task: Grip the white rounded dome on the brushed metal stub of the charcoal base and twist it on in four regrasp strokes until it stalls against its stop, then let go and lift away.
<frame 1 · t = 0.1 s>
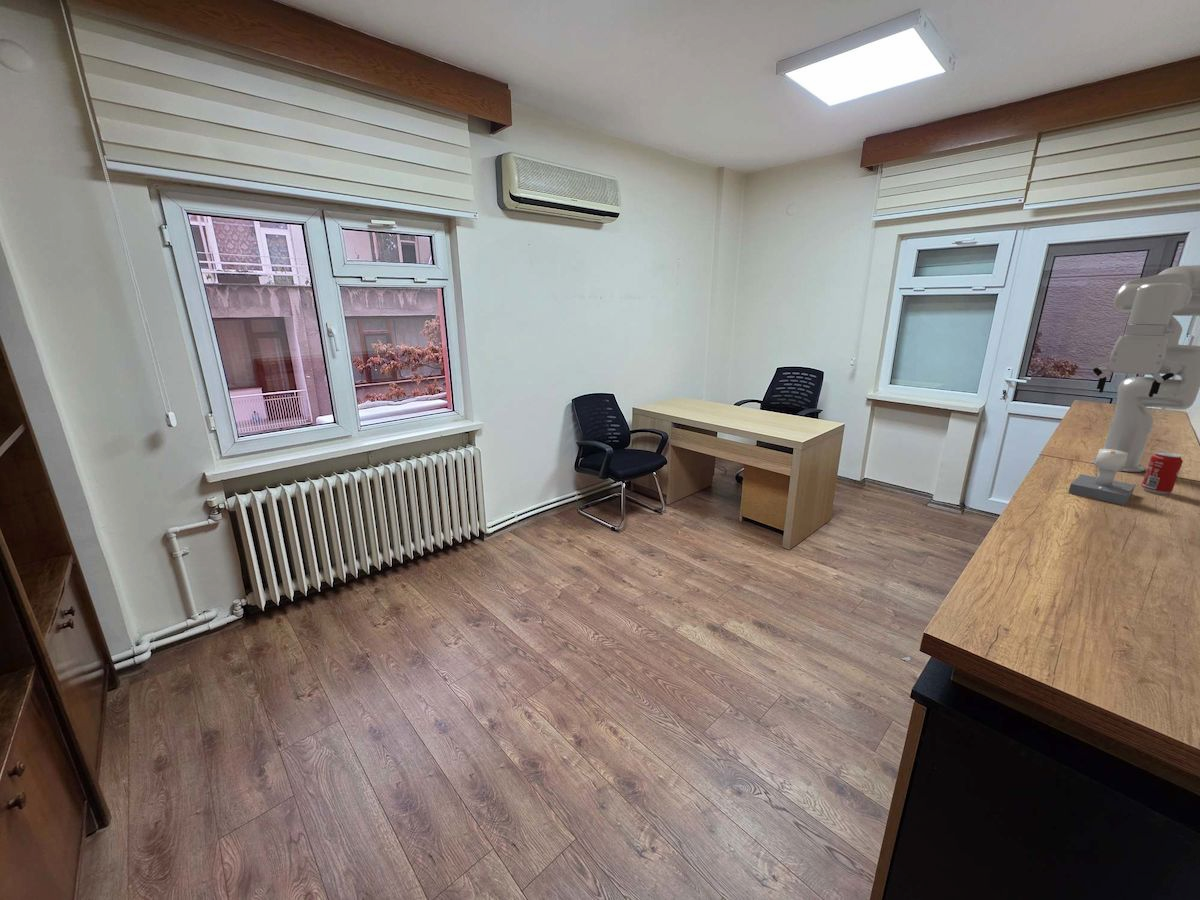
hand: (1124, 394, 135), 31 cm above the table, tool pointing down, fingers open, 9 cm apart
white rounded dome: (1111, 459, 143), point 11 cm above the table, hinge at 0.0°
stub base: (1100, 493, 146), on the table
beverage can: (1155, 491, 148), on the table
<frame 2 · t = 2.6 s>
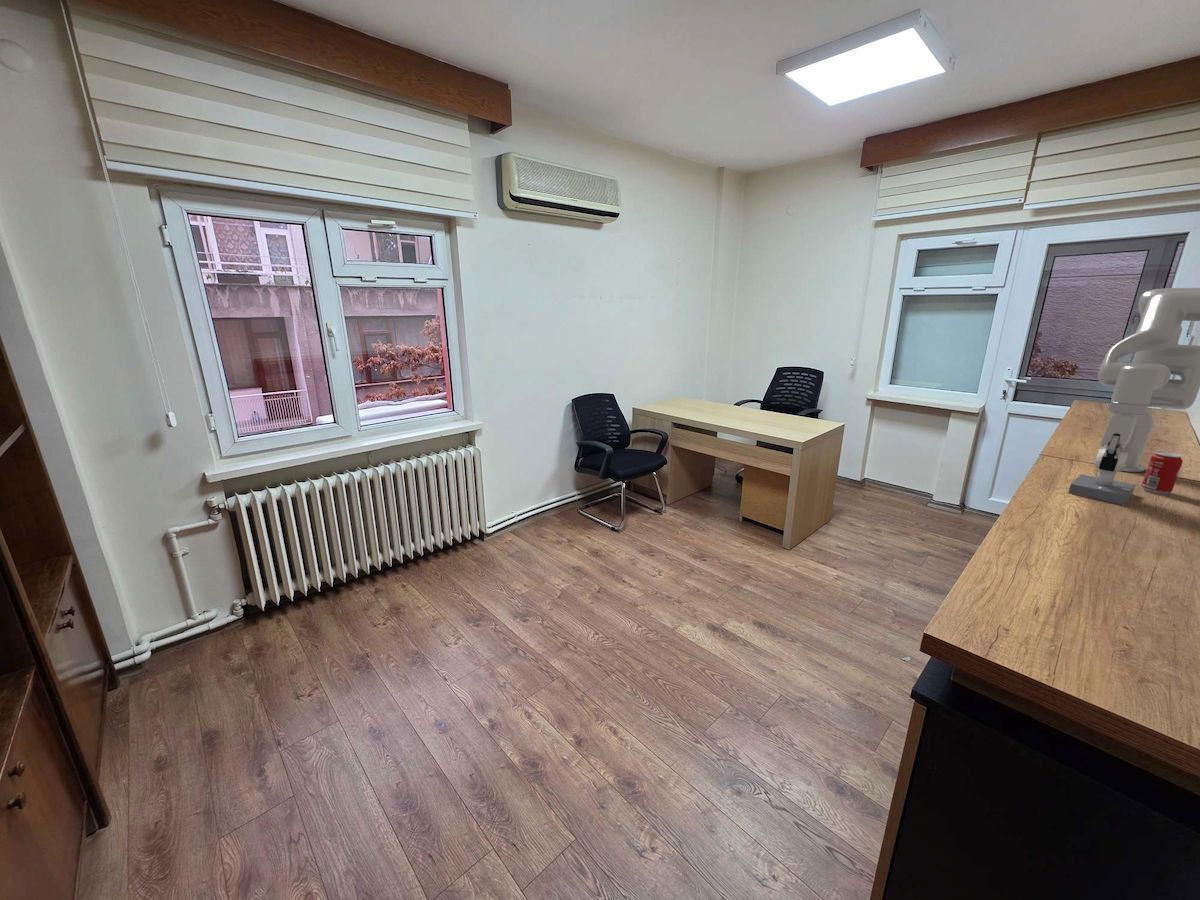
hand: (1108, 467, 144), 8 cm above the table, tool pointing down, fingers closed on white rounded dome, 6 cm apart
white rounded dome: (1111, 459, 143), point 11 cm above the table, hinge at 0.0°, touching gripper
everything else where it was.
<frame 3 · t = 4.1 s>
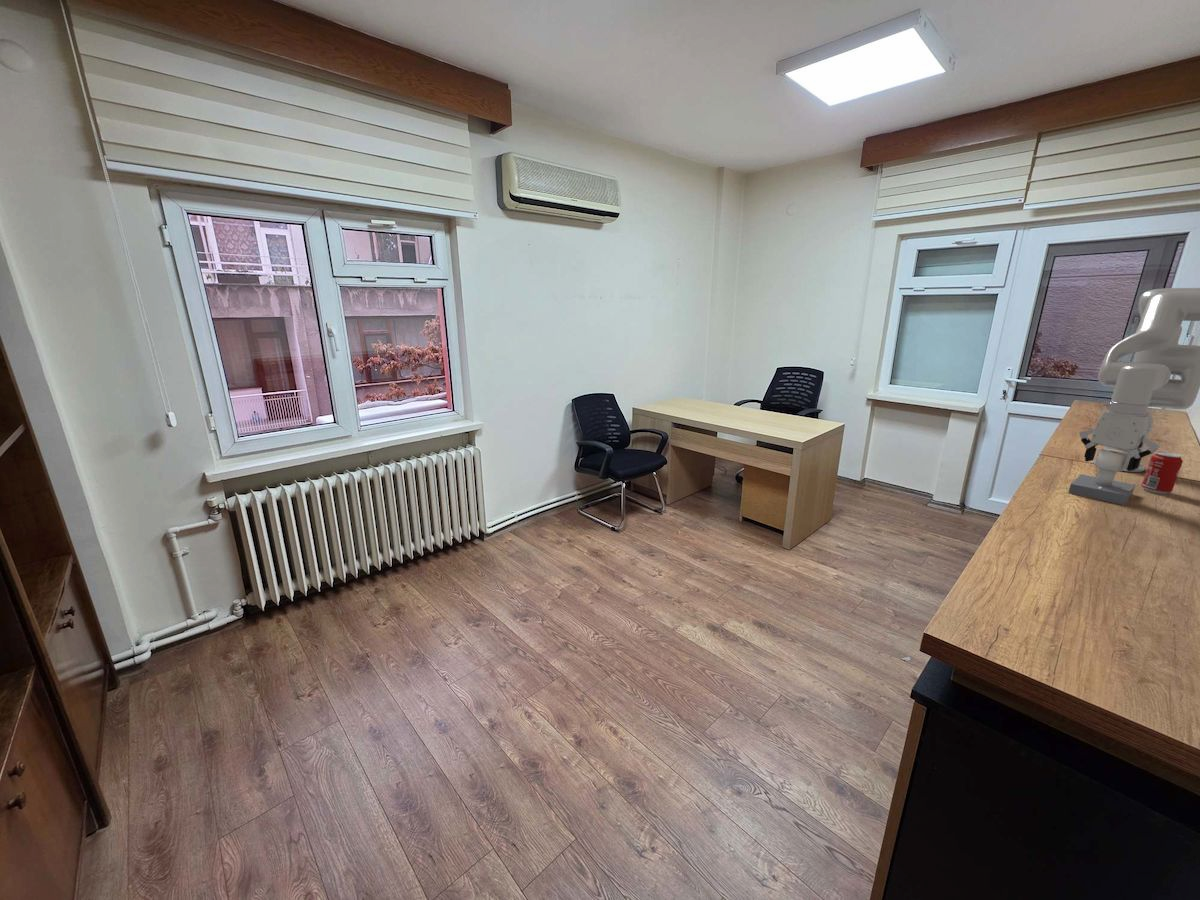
hand: (1109, 465, 144), 9 cm above the table, tool pointing down, fingers open, 9 cm apart
white rounded dome: (1111, 459, 143), point 11 cm above the table, hinge at 20.4°
everything else where it was.
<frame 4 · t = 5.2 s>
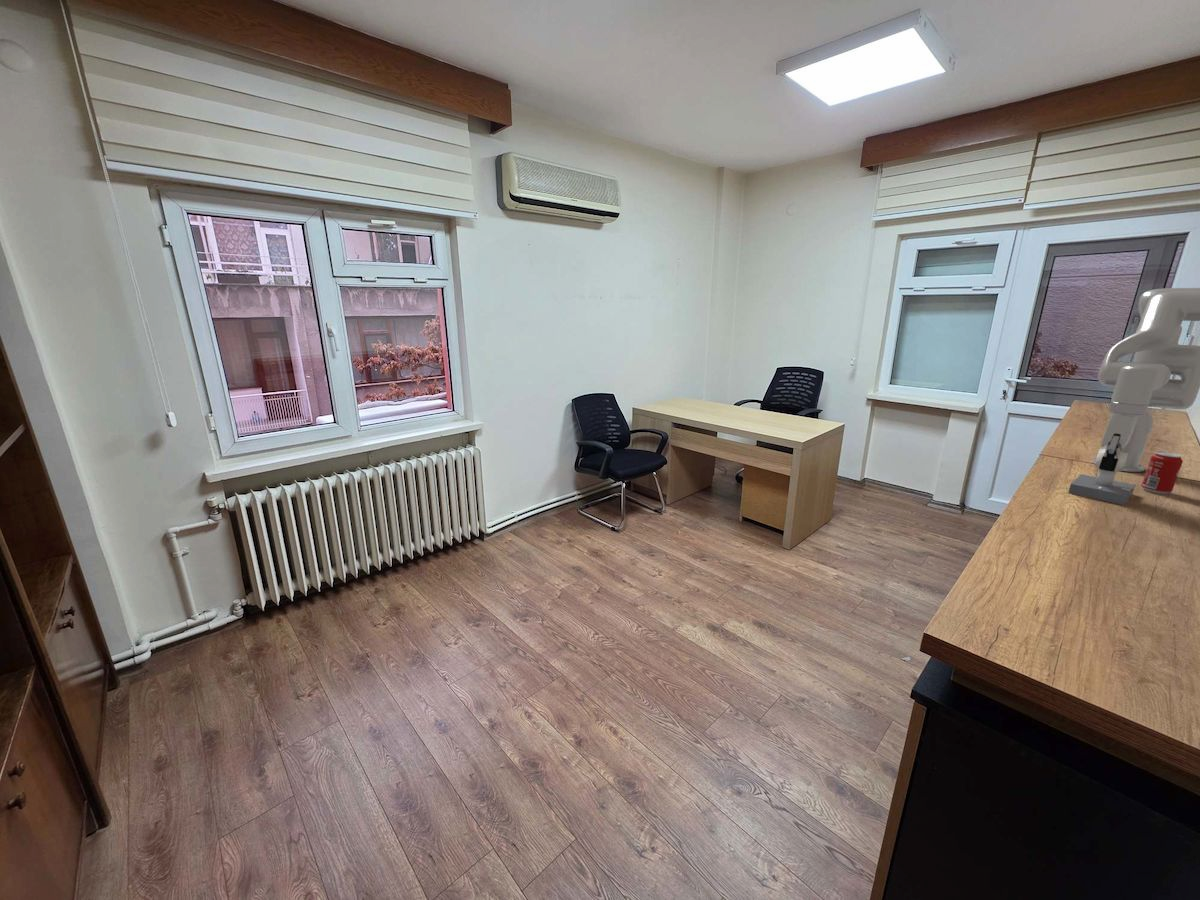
hand: (1108, 467, 144), 8 cm above the table, tool pointing down, fingers closed on white rounded dome, 6 cm apart
white rounded dome: (1111, 459, 143), point 11 cm above the table, hinge at 25.7°, touching gripper
everything else where it was.
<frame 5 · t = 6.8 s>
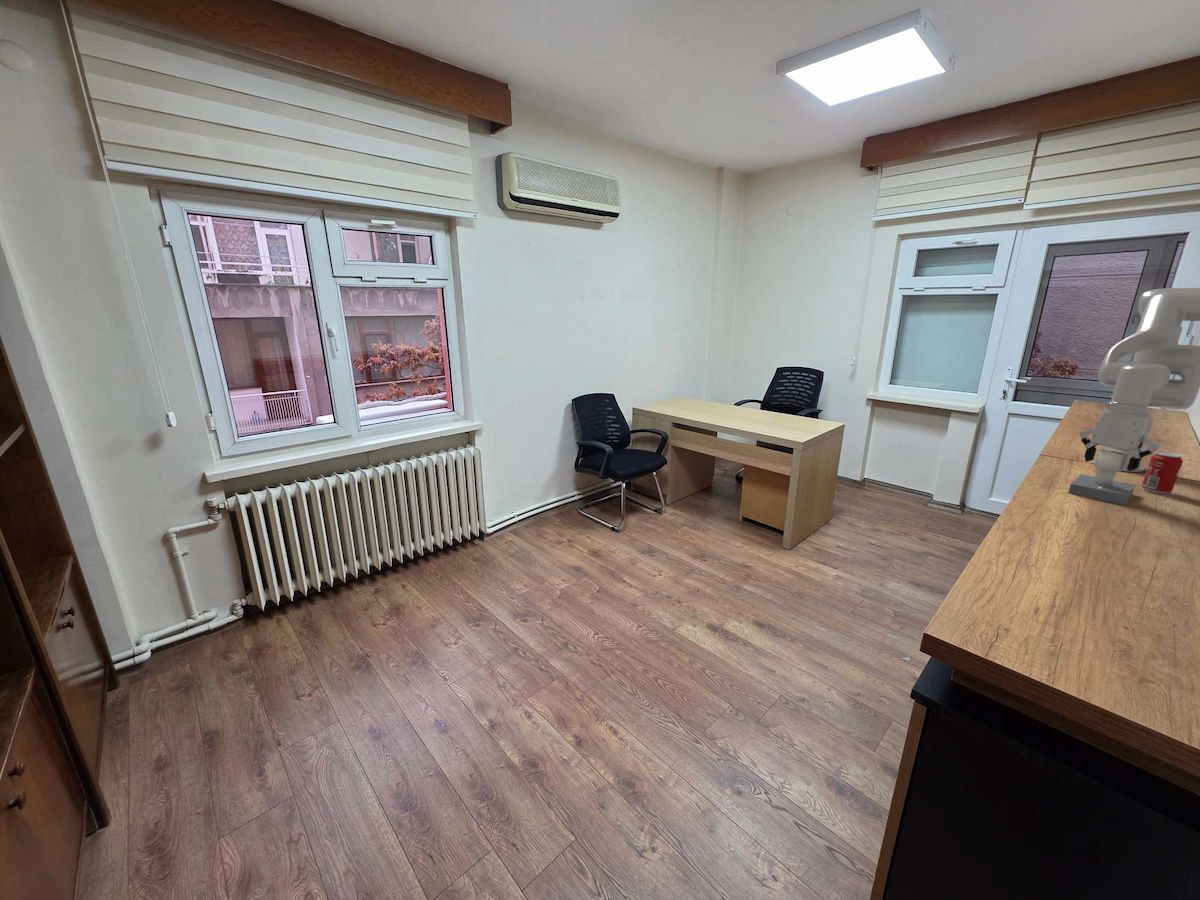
hand: (1109, 465, 144), 9 cm above the table, tool pointing down, fingers open, 9 cm apart
white rounded dome: (1111, 459, 143), point 11 cm above the table, hinge at 46.9°
everything else where it was.
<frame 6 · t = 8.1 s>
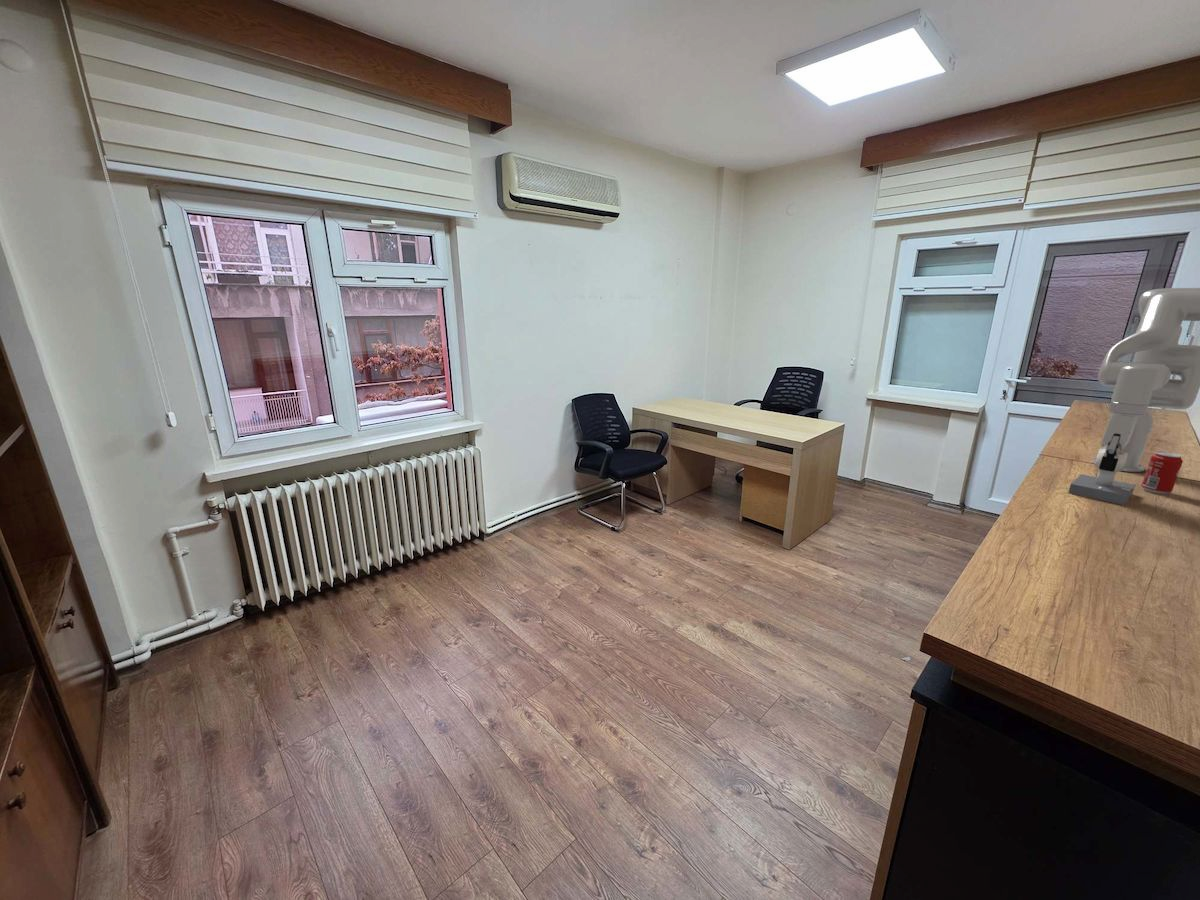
hand: (1108, 467, 144), 8 cm above the table, tool pointing down, fingers closed on white rounded dome, 6 cm apart
white rounded dome: (1111, 459, 143), point 11 cm above the table, hinge at 52.5°, touching gripper
everything else where it was.
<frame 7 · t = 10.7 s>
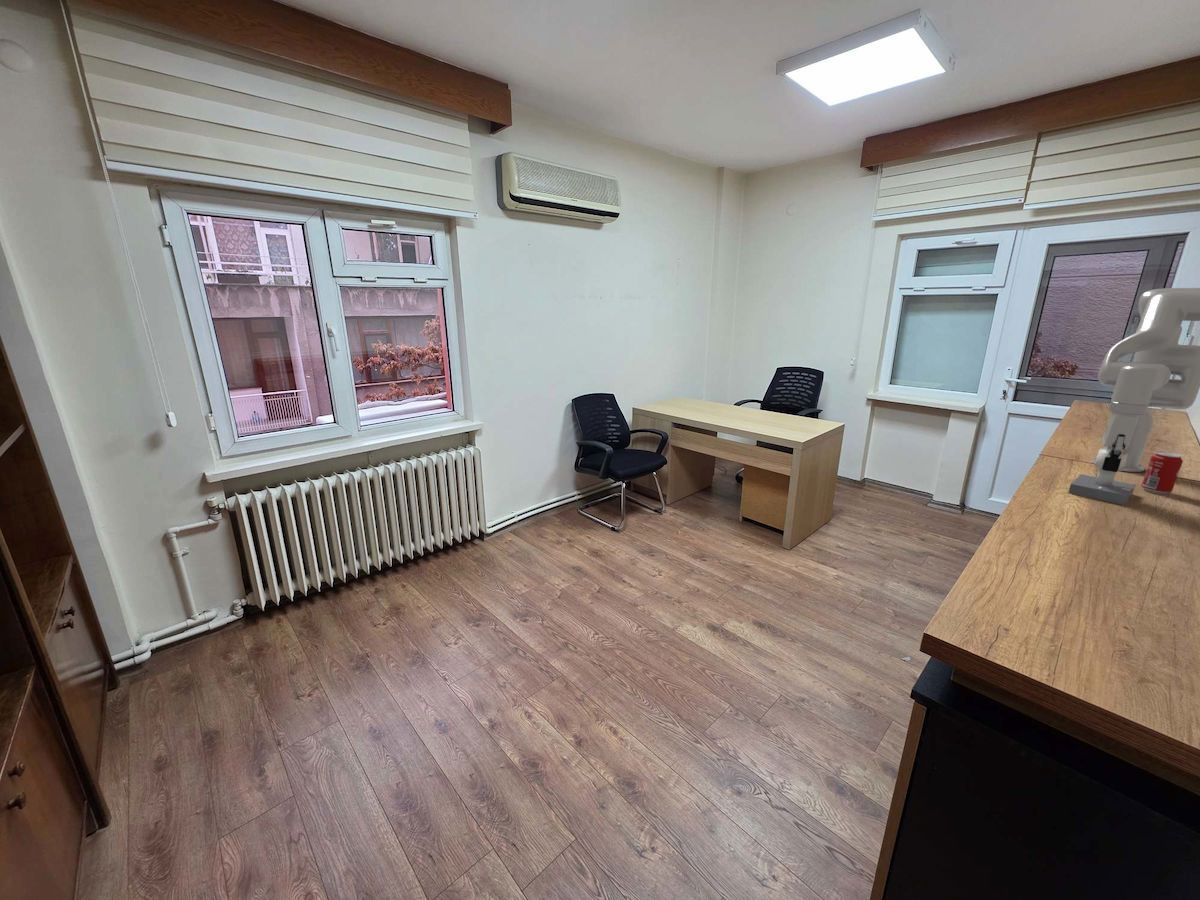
hand: (1108, 467, 144), 8 cm above the table, tool pointing down, fingers closed on white rounded dome, 6 cm apart
white rounded dome: (1111, 459, 143), point 11 cm above the table, hinge at 78.8°, touching gripper
everything else where it was.
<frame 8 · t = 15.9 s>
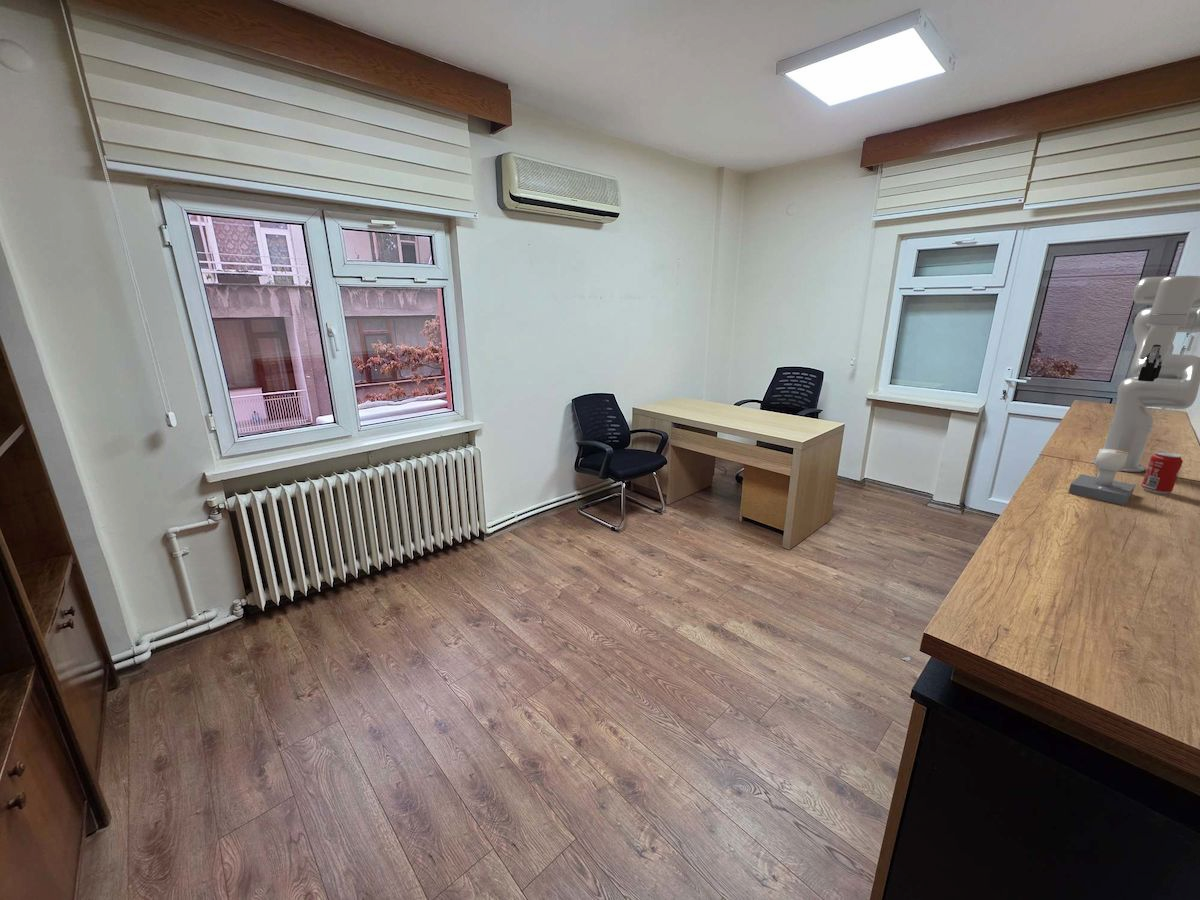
hand: (1147, 379, 145), 33 cm above the table, tool pointing down, fingers open, 9 cm apart
white rounded dome: (1111, 459, 143), point 11 cm above the table, hinge at 97.8°
everything else where it was.
at the end: white rounded dome at +98° (first picture: +0°); the gripper is holding nothing; beverage can moved 0.2 cm from its start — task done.
